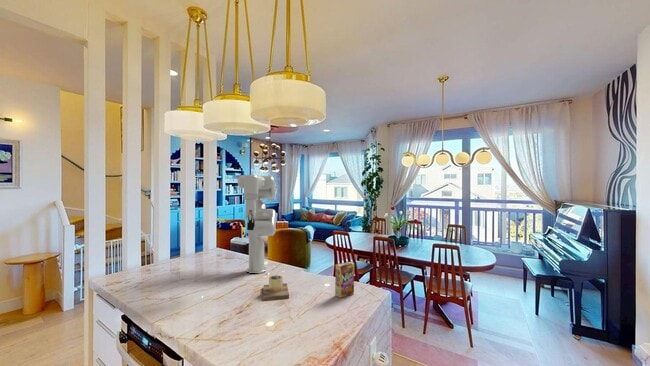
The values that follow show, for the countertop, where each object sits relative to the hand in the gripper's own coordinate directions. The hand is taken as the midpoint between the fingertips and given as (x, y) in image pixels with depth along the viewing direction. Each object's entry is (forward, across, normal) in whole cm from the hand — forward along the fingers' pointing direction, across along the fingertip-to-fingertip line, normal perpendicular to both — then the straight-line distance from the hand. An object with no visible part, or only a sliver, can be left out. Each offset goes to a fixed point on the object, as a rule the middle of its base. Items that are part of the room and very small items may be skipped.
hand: (251, 228), depth 141 cm
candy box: (+31, +24, +46) cm, 60 cm away
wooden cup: (+29, +14, +13) cm, 35 cm away
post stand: (+30, +14, +13) cm, 36 cm away
